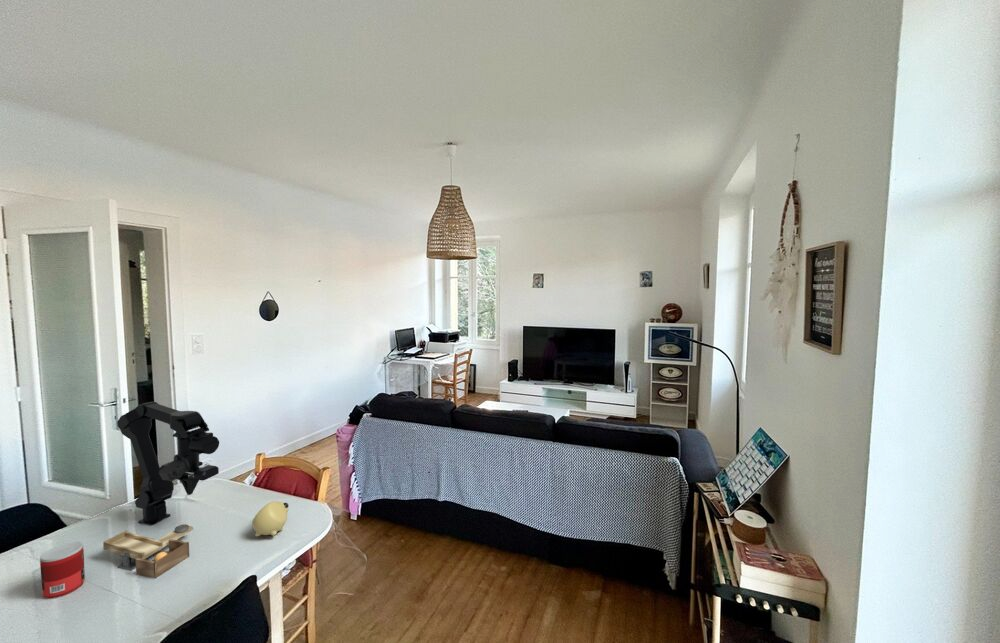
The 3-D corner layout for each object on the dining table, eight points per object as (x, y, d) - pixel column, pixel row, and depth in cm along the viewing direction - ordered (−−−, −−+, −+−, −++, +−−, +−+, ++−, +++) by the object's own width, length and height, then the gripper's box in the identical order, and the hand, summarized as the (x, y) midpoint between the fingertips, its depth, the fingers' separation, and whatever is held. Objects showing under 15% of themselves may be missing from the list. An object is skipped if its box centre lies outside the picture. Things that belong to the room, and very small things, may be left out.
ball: (161, 562, 119) (155, 568, 120) (172, 556, 122) (166, 561, 123) (155, 554, 119) (149, 560, 120) (166, 547, 122) (160, 553, 123)
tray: (136, 574, 117) (135, 559, 117) (171, 552, 127) (170, 538, 126) (155, 578, 115) (154, 563, 115) (189, 556, 125) (188, 542, 125)
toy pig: (294, 521, 145) (294, 493, 144) (278, 542, 133) (277, 511, 132) (265, 522, 144) (265, 493, 143) (247, 543, 132) (246, 511, 131)
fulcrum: (117, 567, 119) (117, 553, 119) (148, 550, 128) (147, 536, 127) (131, 570, 118) (130, 556, 118) (160, 552, 126) (160, 539, 126)
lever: (103, 549, 122) (103, 541, 122) (158, 520, 137) (158, 513, 137) (141, 560, 119) (141, 553, 118) (193, 529, 134) (194, 523, 134)
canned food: (91, 582, 113) (89, 544, 112) (52, 603, 106) (50, 562, 105) (75, 575, 116) (72, 538, 115) (35, 595, 108) (33, 555, 107)
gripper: (141, 456, 132) (143, 502, 133) (187, 462, 128) (189, 510, 129) (175, 443, 143) (176, 486, 144) (219, 449, 139) (220, 493, 140)
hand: (189, 494), depth 139 cm, fingers closed
